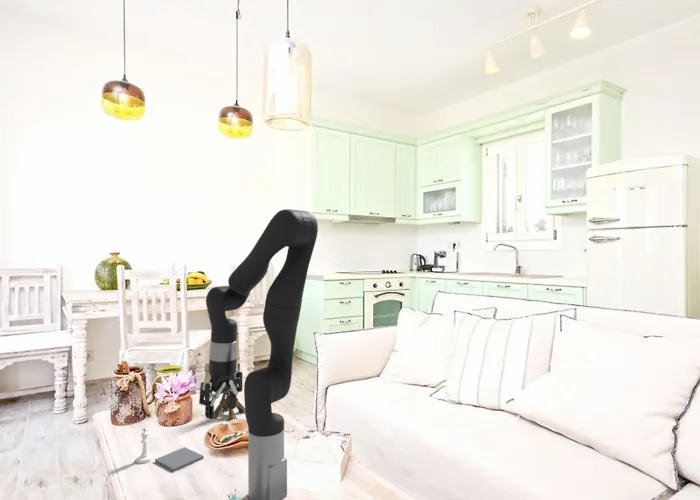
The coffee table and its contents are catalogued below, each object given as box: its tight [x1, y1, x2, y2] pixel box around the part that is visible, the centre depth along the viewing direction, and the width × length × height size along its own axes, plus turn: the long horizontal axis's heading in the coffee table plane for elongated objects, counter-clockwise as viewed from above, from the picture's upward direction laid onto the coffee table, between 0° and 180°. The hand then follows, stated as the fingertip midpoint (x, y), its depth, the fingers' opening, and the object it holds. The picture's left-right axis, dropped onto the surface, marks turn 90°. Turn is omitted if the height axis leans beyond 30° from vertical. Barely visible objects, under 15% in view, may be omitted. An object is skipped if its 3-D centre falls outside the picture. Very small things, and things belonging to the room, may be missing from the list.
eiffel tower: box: [213, 391, 245, 422], centre depth 170 cm, size 11×11×25 cm
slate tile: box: [154, 446, 205, 473], centre depth 134 cm, size 10×10×1 cm
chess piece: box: [135, 426, 155, 464], centre depth 134 cm, size 5×5×10 cm
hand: (221, 413), depth 124 cm, fingers open, 8 cm apart
